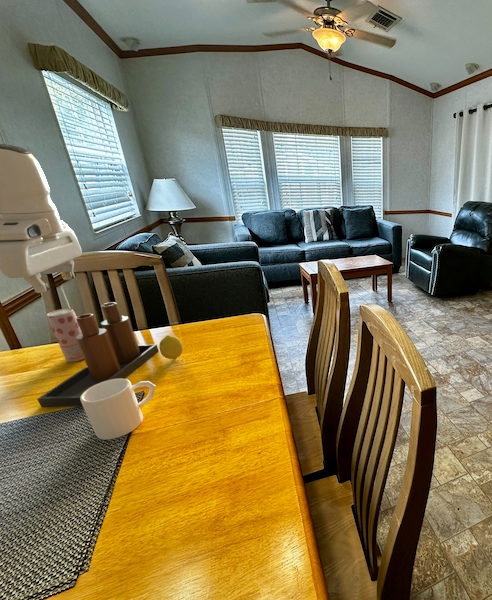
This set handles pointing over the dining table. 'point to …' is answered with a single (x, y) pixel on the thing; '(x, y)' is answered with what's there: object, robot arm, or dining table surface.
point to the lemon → (171, 347)
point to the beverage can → (66, 333)
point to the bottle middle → (96, 349)
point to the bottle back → (120, 333)
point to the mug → (114, 407)
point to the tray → (90, 381)
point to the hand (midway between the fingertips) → (57, 285)
